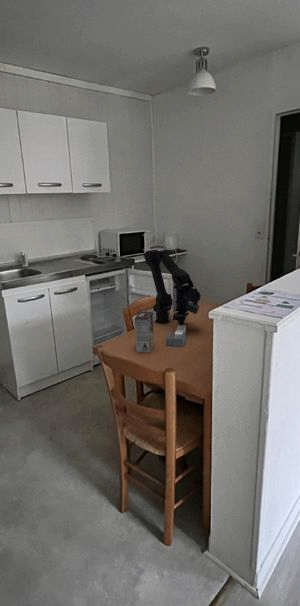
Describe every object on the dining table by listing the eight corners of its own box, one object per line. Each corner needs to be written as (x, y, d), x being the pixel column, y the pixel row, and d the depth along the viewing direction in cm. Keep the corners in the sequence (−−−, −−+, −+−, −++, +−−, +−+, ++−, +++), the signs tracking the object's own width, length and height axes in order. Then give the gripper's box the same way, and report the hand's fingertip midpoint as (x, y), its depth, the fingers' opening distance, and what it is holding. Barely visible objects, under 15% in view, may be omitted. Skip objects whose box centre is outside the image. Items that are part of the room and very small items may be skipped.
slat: (174, 339, 170) (174, 334, 169) (178, 330, 181) (178, 325, 180) (181, 340, 169) (181, 334, 168) (185, 330, 180) (185, 325, 179)
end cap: (166, 345, 164) (166, 338, 163) (169, 338, 172) (169, 331, 171) (182, 346, 162) (182, 339, 161) (185, 339, 170) (185, 332, 169)
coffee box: (140, 343, 167) (139, 311, 162) (154, 344, 166) (153, 311, 161) (136, 351, 158) (134, 317, 153) (150, 352, 157) (149, 318, 152)
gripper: (195, 304, 166) (195, 335, 171) (200, 293, 183) (200, 321, 188) (172, 303, 169) (172, 334, 174) (178, 292, 186) (179, 320, 191)
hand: (182, 327), depth 181 cm, fingers closed
